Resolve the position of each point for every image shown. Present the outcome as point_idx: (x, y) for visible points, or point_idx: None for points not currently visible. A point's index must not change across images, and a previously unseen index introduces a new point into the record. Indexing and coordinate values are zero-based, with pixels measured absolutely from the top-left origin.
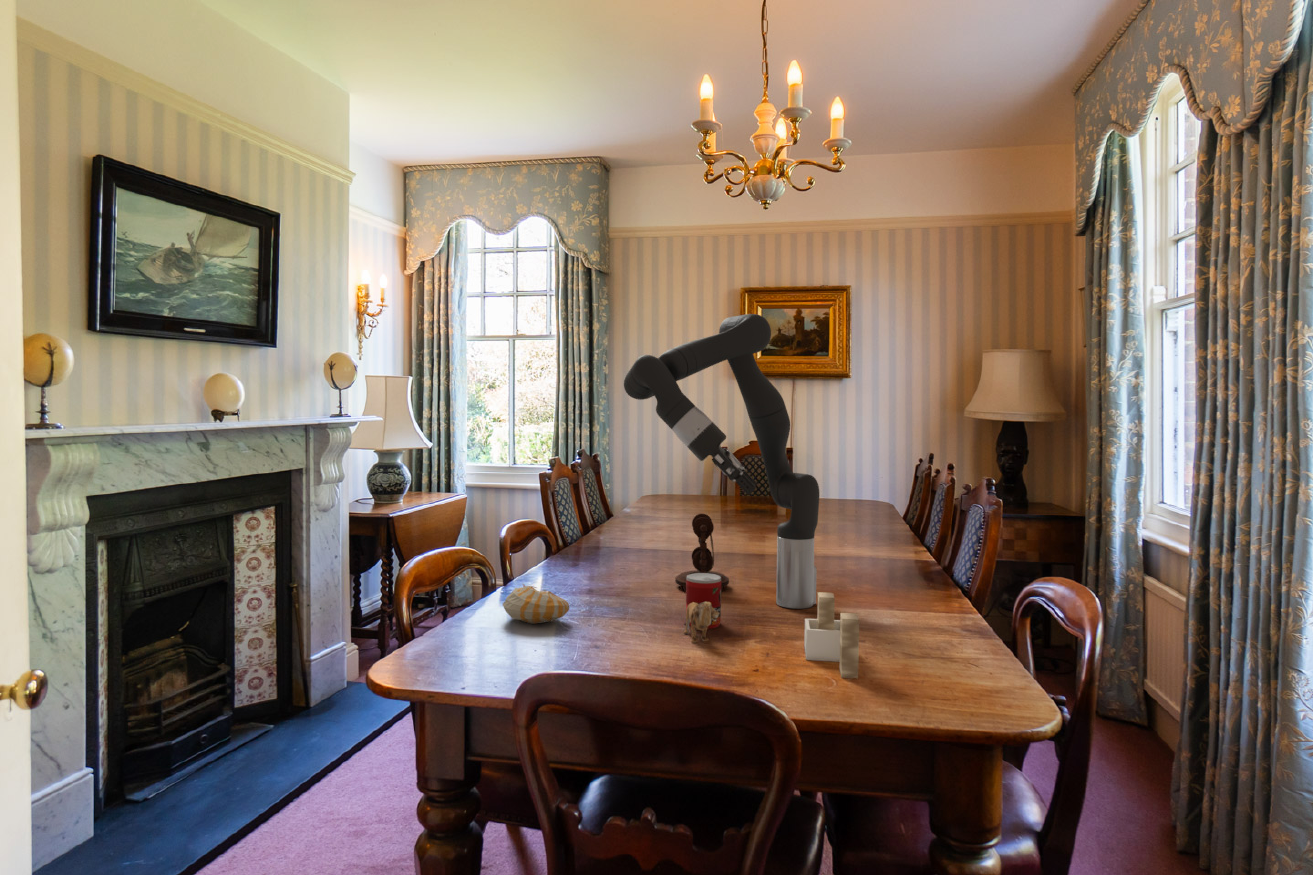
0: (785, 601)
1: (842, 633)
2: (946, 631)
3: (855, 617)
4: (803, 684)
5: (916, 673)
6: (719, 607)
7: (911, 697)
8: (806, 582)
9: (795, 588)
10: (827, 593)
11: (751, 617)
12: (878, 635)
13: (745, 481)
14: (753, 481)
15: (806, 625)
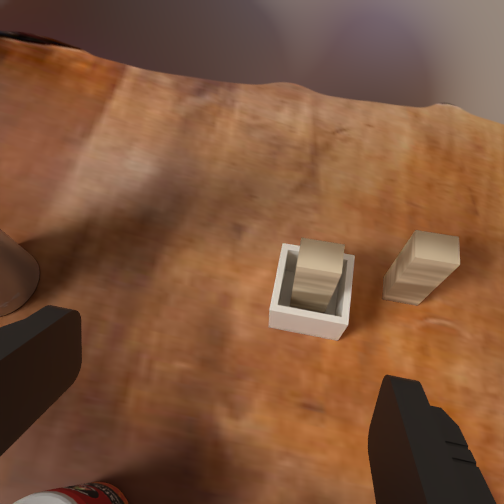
0: (14, 301)
1: (447, 276)
2: (201, 114)
3: (444, 239)
4: (460, 374)
5: (381, 201)
6: (104, 491)
7: (477, 235)
8: (9, 243)
9: (11, 272)
10: (307, 249)
11: (67, 393)
12: (212, 198)
13: (485, 494)
14: (57, 329)
15: (319, 318)
